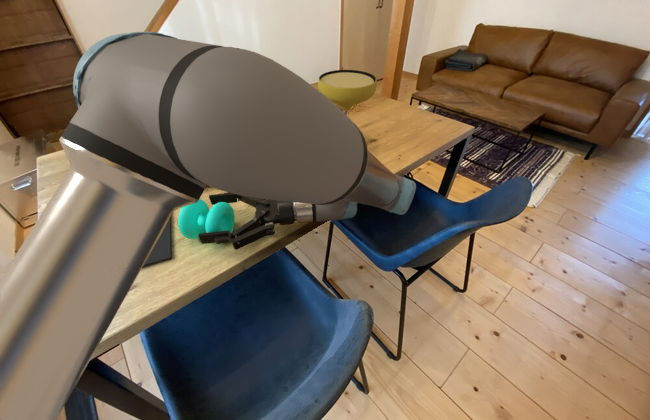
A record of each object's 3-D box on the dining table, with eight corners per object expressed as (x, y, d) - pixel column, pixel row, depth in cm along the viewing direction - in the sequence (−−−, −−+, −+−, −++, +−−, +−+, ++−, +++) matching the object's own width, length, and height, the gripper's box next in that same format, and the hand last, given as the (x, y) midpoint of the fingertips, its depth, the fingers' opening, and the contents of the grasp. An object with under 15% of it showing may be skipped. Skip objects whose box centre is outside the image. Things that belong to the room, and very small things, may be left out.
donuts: (205, 218, 74) (193, 189, 68) (240, 223, 73) (231, 194, 66) (184, 246, 67) (168, 216, 61) (222, 252, 66) (210, 223, 59)
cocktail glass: (377, 147, 102) (387, 75, 85) (351, 170, 91) (357, 92, 74) (337, 134, 110) (339, 66, 93) (309, 153, 99) (305, 80, 82)
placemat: (70, 288, 59) (68, 287, 58) (88, 227, 72) (87, 225, 72) (171, 258, 64) (170, 257, 64) (170, 206, 78) (169, 205, 78)
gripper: (298, 258, 62) (200, 269, 60) (292, 190, 80) (217, 197, 78) (296, 235, 57) (189, 247, 54) (290, 168, 75) (209, 175, 73)
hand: (205, 217), depth 66 cm, fingers open, 13 cm apart
